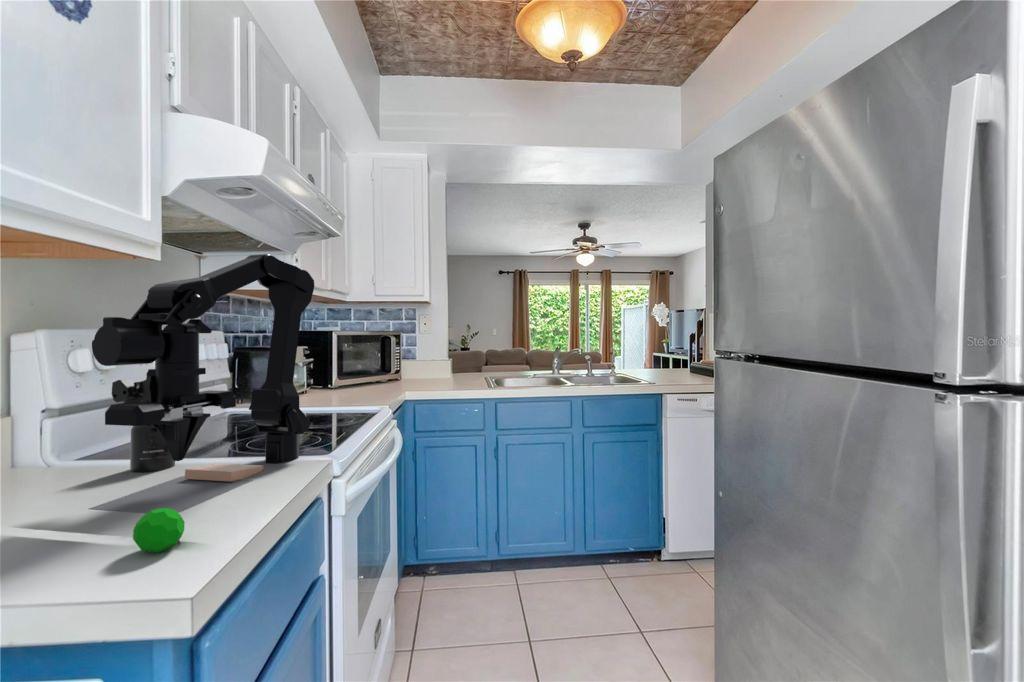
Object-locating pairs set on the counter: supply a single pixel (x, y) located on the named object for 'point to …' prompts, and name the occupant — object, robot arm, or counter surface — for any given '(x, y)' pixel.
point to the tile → (222, 472)
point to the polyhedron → (158, 530)
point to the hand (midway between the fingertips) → (178, 460)
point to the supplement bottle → (148, 450)
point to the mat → (171, 495)
